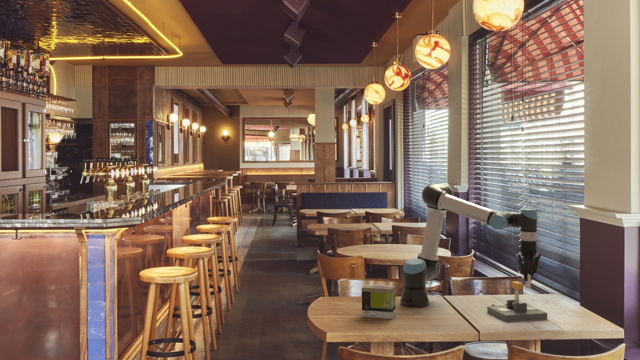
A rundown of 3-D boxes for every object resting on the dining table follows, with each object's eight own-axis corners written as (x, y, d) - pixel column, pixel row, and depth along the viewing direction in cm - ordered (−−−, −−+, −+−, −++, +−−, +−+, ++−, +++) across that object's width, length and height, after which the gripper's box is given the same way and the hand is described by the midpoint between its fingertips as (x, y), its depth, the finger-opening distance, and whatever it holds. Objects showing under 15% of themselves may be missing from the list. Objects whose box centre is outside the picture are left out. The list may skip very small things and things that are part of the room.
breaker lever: (516, 310, 287) (517, 283, 286) (511, 307, 292) (511, 281, 291) (522, 309, 287) (522, 283, 287) (516, 307, 292) (517, 281, 292)
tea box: (395, 314, 291) (396, 285, 290) (391, 320, 281) (391, 289, 281) (366, 312, 295) (366, 283, 295) (361, 317, 286) (361, 287, 286)
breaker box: (505, 321, 278) (505, 307, 278) (479, 308, 304) (479, 295, 304) (547, 319, 283) (547, 304, 283) (518, 306, 308) (518, 293, 308)
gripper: (520, 241, 285) (520, 289, 285) (544, 240, 288) (544, 288, 288) (512, 239, 292) (511, 286, 293) (536, 238, 295) (535, 285, 296)
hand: (527, 287), depth 291 cm, fingers closed
